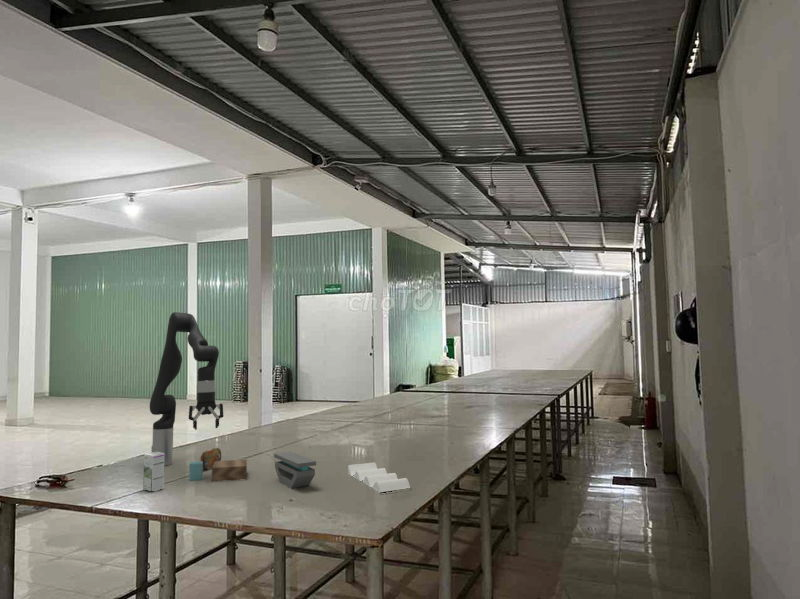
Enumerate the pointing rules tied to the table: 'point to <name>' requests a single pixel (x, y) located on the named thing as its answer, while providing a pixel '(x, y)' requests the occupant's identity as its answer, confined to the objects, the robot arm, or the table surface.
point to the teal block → (196, 470)
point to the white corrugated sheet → (377, 477)
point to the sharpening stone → (294, 469)
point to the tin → (210, 457)
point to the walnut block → (229, 470)
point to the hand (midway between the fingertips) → (206, 428)
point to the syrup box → (153, 471)
